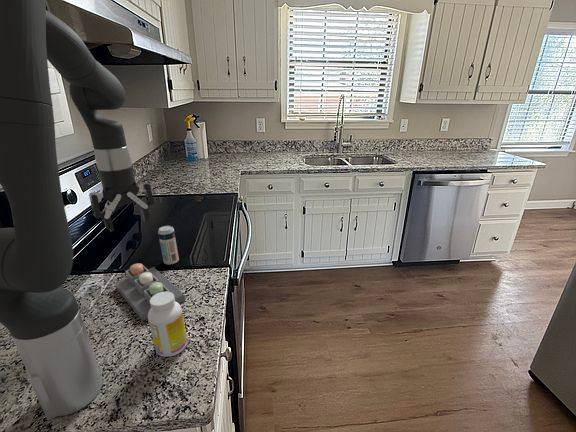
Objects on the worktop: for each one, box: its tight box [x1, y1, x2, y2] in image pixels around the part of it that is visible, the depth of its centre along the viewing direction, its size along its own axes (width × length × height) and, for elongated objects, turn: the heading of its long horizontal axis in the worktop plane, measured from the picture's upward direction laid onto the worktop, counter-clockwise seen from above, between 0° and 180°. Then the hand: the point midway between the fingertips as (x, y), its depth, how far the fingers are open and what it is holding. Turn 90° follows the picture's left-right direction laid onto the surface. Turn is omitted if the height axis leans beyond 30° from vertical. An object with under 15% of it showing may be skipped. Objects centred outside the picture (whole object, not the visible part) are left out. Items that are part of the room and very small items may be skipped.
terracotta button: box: [129, 263, 144, 276], centre depth 88 cm, size 3×3×3 cm
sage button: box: [149, 282, 164, 297], centre depth 79 cm, size 3×3×3 cm
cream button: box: [139, 272, 153, 286], centre depth 84 cm, size 3×3×3 cm
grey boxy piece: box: [114, 264, 186, 322], centre depth 85 cm, size 11×19×4 cm, turn 44°
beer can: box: [157, 225, 180, 266], centre depth 99 cm, size 5×5×12 cm
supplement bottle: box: [147, 292, 188, 358], centre depth 66 cm, size 7×7×13 cm
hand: (129, 225), depth 83 cm, fingers open, 8 cm apart
